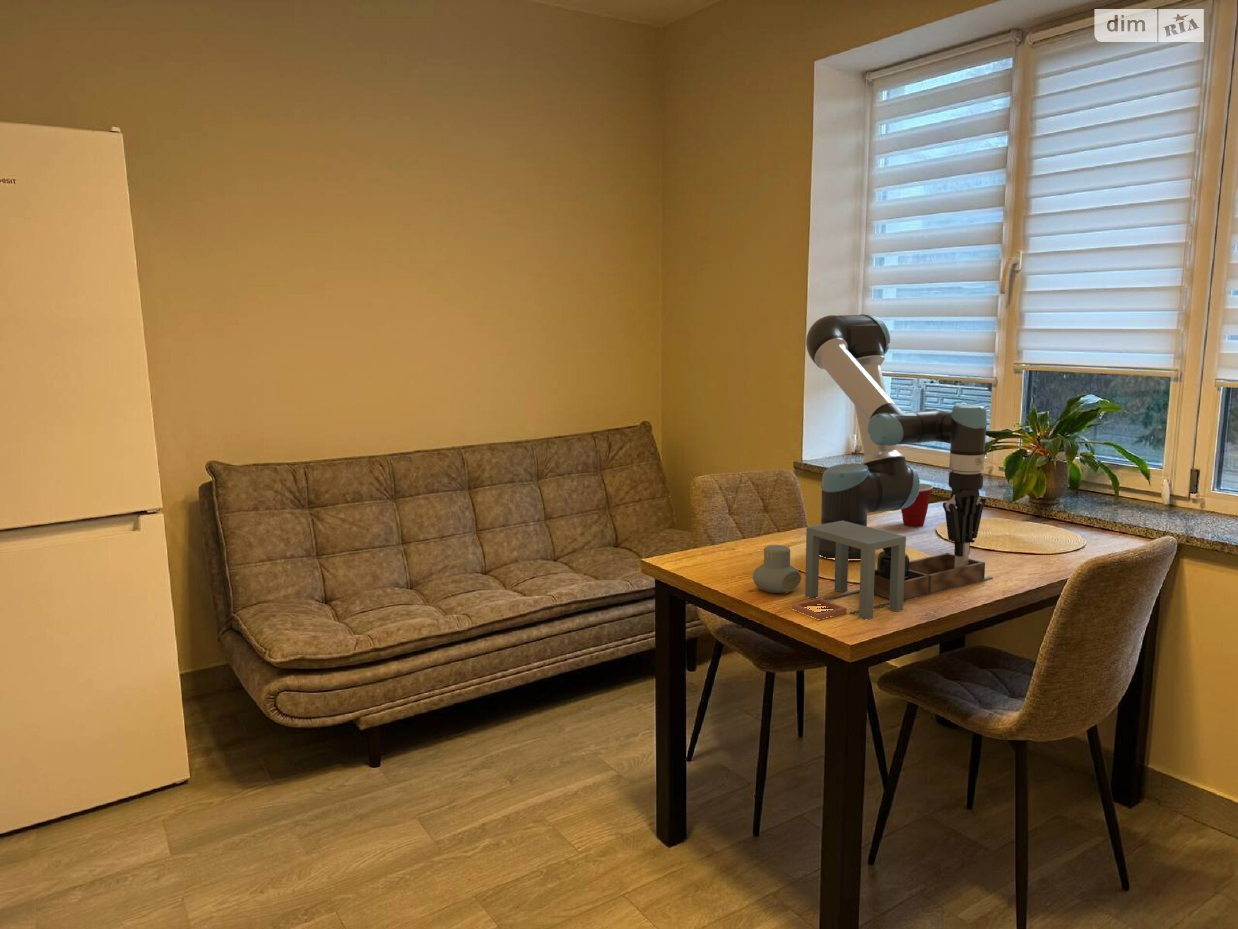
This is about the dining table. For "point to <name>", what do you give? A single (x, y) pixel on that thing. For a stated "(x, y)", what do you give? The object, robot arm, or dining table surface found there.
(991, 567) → the dining table surface
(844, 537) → the tunnel
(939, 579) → the divided wooden tray
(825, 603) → the frame
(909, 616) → the dining table surface
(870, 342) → the robot arm
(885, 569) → the supplement bottle
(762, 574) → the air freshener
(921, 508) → the plastic cup
